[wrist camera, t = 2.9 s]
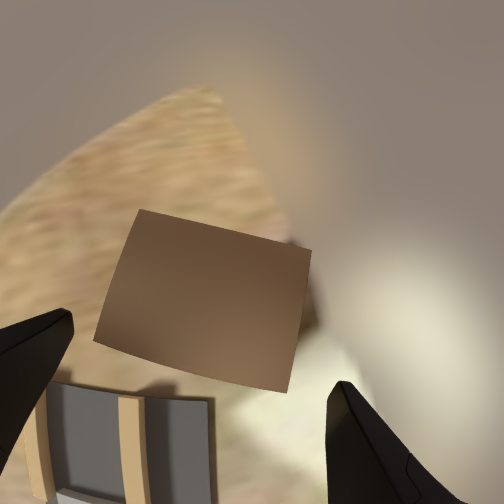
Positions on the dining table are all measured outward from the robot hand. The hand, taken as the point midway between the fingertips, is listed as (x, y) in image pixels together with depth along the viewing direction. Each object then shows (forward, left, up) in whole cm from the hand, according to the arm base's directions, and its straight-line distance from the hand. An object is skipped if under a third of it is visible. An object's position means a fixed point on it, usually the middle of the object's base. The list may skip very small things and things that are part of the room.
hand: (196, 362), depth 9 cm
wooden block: (+1, -1, -9) cm, 9 cm away
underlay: (-7, +9, -9) cm, 15 cm away
